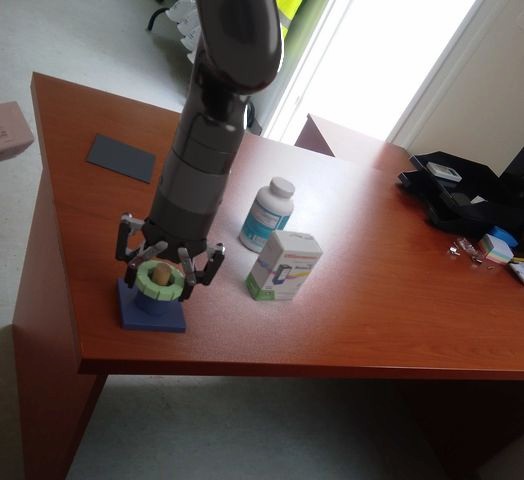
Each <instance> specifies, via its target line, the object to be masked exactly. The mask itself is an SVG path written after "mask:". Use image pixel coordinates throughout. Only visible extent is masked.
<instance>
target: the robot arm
mask: <svg viewBox="0 0 524 480" xmlns="http://www.w3.org/2000/svg"><path fill="white" fill-rule="evenodd" d="M194 1H195V7H196V10H197V11H196V12H197V16H198V21H199V24H200V25H199V26H200V33H199V37H198V41H197V45H196V50H195V55H194V60H193V65H192V71H191V76H190V82H189V87H188V92H187V96H186V98H185V102H184V105H183V108H182V111H181V113H180V116H179V119H178V123H177V125H176V129H175V133H174V137H173V140H172V143H171V146H170V148H169V150H168V153H167V155H166V157H165V159H164V162H163V165H162V169H161V172H160V174H159V177H158V183H157V187H156V190H155V193H154V197H153V199H152V203H151V208H150V211H149V214H148V216H147V217H145V218H144V219H138V218H134V217H133V216H132V214H131V213H130V212H129V211H124V212H122V214H121V217H120V220H119V225H118V230H117V231H118V232H117V238H116V247H115V254H114V258H115V260H116V261H117V262H124V263H125V264H126V270H125V274H124V278H123V279H124V282H125V283H126V284H128V287H127V288H130V289H133V286H134V282H135V279H136V275H137V272H138V268H139V266H140V265H141V264H142V263H144V262H148V261H149V262H150V260H153V258H154V257H155V258H156V259H159V260H162V261H163V260H164V261H169V262H171V263H173V264H175V265H180V264H181V267H182V270H183V274H185V276H184V288H183V290H182V293H181V295H180V296H179V297H178V302H181V304H183V303H184V301H188V300H189V299H190V298H191V295H192V293H193V291H194V288H195V287H196V285H199V284H200V285H202V286H203V287H209V286H210V285H211V283H212V281H214V278H215V276H216V275H217V273H218V272H219V269H220V268H221V266H222V265H223V262H224V261H225V258H226V245H225V243H223V242H217V243H216V244H215V243H212V242H210V241H208V234H209V233H210V230H211V227H212V225H213V223H214V221H215V217H216V216H217V213H218V210H219V208H220V206H221V205H222V203H223V201H224V196H225V193H226V192H227V191H226V190H227V187H228V184H229V180H230V175H231V172H232V169H233V167H234V164H235V162H236V160H237V157H238V154H239V152H240V151H241V147H242V144H243V142H244V138H245V134H246V131H247V110H248V107H249V106H248V105H249V103H250V100H251V98H252V96H254V95H257V94H260V93H262V92H263V91H265V90H267V89H268V88H269V87H270V86H271V85H272V84H273V83H274V81H275V79H277V76H278V74H279V72H280V69H281V67H282V62H283V58H284V37H283V30H282V23H281V17H280V13H279V12H280V11H279V6H278V3H277V0H194ZM138 231H140V232H141V234H142V236H143V238H144V239H143V240H142V241H141V243H140V244H139V245H138V246H136V248H134V249H133V250H132V249H130V248H129V247H128V245H129V239H130V238H131V237H133V236H135V235H136V233H138ZM205 252H206V253H207V255H206V258H207V261H206V263H205V265H204V267H203V269H202V270H198V268H197V265H196V259H195V258H196V257H197V256H199V255H202V254H203V253H205Z"/></svg>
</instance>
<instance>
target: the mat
mask: <svg viewBox="0 0 524 480" xmlns="http://www.w3.org/2000/svg"><path fill="white" fill-rule="evenodd" d="M156 160H157V155H156V154H153V153H151V152H149V151H146V150H143V149H141V148H139V147H136V146H132V145H130V144H127V143H125V142H123V141H119V140H117V139H114V138H112V137H109V136H107V135H104V134H101V133H97V135H96V137H95V139H94V142H93V143H92V146H91V149H90V150H89V153H88V155H87V158H86V160H85V162H87V163H89V164H93V165H95V166H98V167H101V168H104V169H106V170H108V171H109V170H110V171H112V172H115V173H117V174H120V175H122V176H123V175H124V176H126V177H129V178H132V179H135V180H137V181H139V182H143V183H145V184H147V185H148V184H149V185H150V184H151V182H152V177H153V174H154V173H153V172H154V168H155V163H156Z"/></svg>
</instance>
